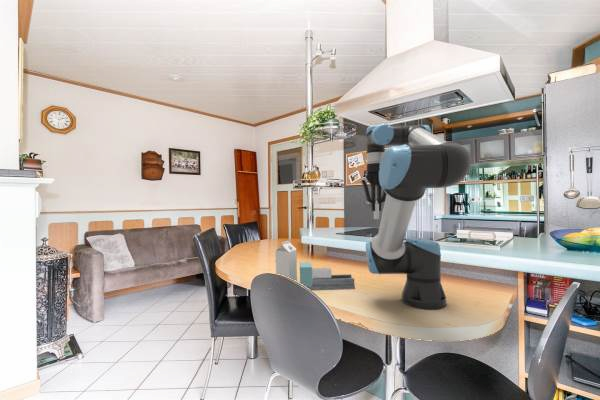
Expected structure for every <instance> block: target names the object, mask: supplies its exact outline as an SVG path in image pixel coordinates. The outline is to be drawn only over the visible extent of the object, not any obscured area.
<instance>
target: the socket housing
mask: <svg viewBox="0 0 600 400" xmlns="http://www.w3.org/2000/svg"><path fill="white" fill-rule="evenodd" d="M312 268H313V266H312V262H310V261H309V262H307V261H306V262H299V284H300V283H301V284H303V285H304V286H306V287H312Z"/></svg>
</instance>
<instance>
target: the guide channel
mask: <svg viewBox="0 0 600 400" xmlns="http://www.w3.org/2000/svg"><path fill="white" fill-rule="evenodd" d="M307 288H309V289H311V290H310V291H322V290H323V291H324V290H325V291H326V290H327V291H328V290H329V291H330V290H355V289H356V285H355V278H354V277H352V274H349V273H348V274H332V279H313V284H312V287H307Z"/></svg>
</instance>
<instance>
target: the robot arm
mask: <svg viewBox="0 0 600 400" xmlns="http://www.w3.org/2000/svg"><path fill="white" fill-rule="evenodd" d="M365 137H366V163H367V164H366V174H365V175H366V176H365V178H363V179H361V180H360V183H361V185H362V186H363V190H364V194H365V199H366V202H368V203H370V204H371V212H373V220H379V219H380V212H381V213H382V214H381V219H380V223H379V227H378V231H377V232H378V233H377V234H376V235H375V236H374V237H373V238H372V240H371V241H367V242H366V243H365V254H366V255H365V256H366V262H367V268H368V272H370V273H371V274H374V275H375V274H376V275H404V274H405V275H406V281H405V284H404V286H403V289H402V291H401V300H402V302H403V303H404V304H406V305H407V306H411V307H413V308H418V309H424V310H437V309H442V308H445V307H446V306H447V297H446V294H445V291H444V288H443V286H442V282H441V281H442V280H441V277H442V275H441V273H442V272H441V267H442V266H441V265H442V264H441V263H442V262H441V261H442V260H441V259H442V258H441V257H442V254H441V245H440V243H439V242H437V241H435V240H431V239H427V238H421V237H413V236H412V237H411V236H410V237H409V236H408V237H406V234H407V230H408V227H409V225H410V222H411V218H412V214H413V212H414V208H415V207H416V206H415V205H416V203H417V201H419V200H420V199H422V198H423V197H424V195H425V193H426V190H427V189H439V188H440V189H441V188H442V189H443V188H445V189H446V188H449V187H452V186H455V185H457V184H458V183H460V182H461V181H462V180H464V178H466V176H467V175H468V173H469V172H470V169H471V166H472V157H471V154H470V152H469V150H467V148H466V147H465V146H463V145H461V144H460V143H458V142H455V141H446V140H445V139H443V138H441V137H439V136H437V135H436V134H434V133H432V129H431V127H430V125H428V124H415V125H414V124H412V125H390V124H387V123H380V124H378V125H371V126H368V127H367V128H366V134H365ZM386 146H388V148H386ZM389 146H390V147H389ZM367 183H369V185H370V191H369V186H368V184H367ZM382 189H383V190H382ZM382 203H384V205H383V209H382ZM405 237H406V238H405ZM404 240H405V241H404Z"/></svg>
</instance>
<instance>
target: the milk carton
mask: <svg viewBox="0 0 600 400" xmlns="http://www.w3.org/2000/svg"><path fill="white" fill-rule="evenodd" d="M297 254H298V252H297V248H296V247H295V246H294V245H293V244H292V243H291V240H286V241H282V242H281V245H280V246H279V247H278V248H277V249H276V250H275V275H276V274H280V275H284V276H286V277H289V278H291V279H293V280H296V281H297V282H298V264H297V263H298V260H297V259H298V257H297Z"/></svg>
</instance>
